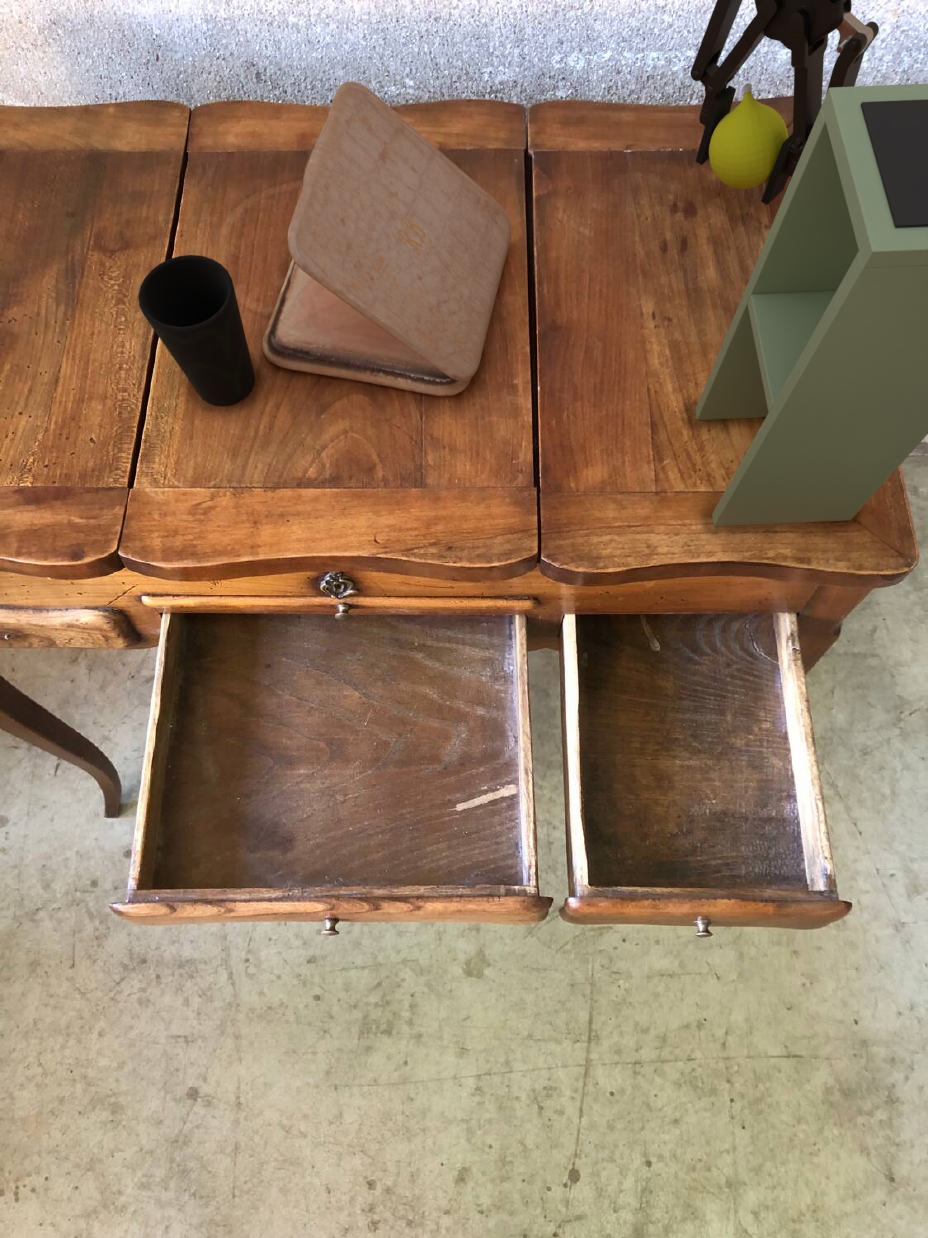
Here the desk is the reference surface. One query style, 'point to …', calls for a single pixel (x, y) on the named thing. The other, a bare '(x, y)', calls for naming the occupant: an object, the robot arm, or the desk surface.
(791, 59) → the robot arm
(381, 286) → the case
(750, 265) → the desk surface
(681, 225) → the desk surface
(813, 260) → the shelf
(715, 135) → the ornament
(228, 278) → the cup
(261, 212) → the desk surface
